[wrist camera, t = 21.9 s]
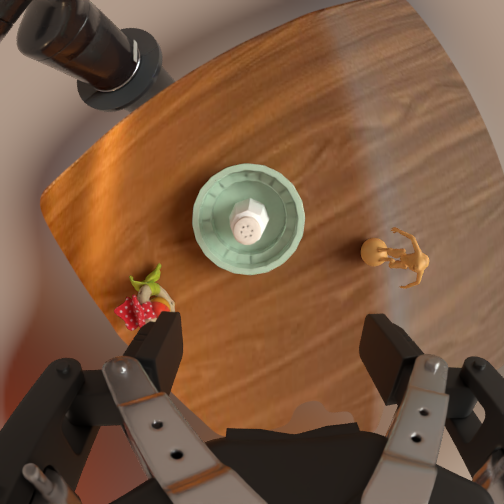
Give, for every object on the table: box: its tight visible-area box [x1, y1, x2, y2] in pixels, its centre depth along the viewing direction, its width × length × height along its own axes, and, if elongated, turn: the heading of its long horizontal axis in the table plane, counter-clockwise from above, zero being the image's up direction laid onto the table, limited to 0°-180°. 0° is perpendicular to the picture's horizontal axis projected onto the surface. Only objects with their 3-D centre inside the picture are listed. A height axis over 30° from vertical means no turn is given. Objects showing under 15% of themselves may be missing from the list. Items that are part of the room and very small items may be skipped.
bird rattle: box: [114, 263, 175, 331], centre depth 38 cm, size 6×11×9 cm
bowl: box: [192, 163, 305, 275], centre depth 38 cm, size 14×14×5 cm
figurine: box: [361, 227, 429, 288], centre depth 35 cm, size 8×6×12 cm
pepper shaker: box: [229, 198, 269, 245], centre depth 34 cm, size 5×5×11 cm
